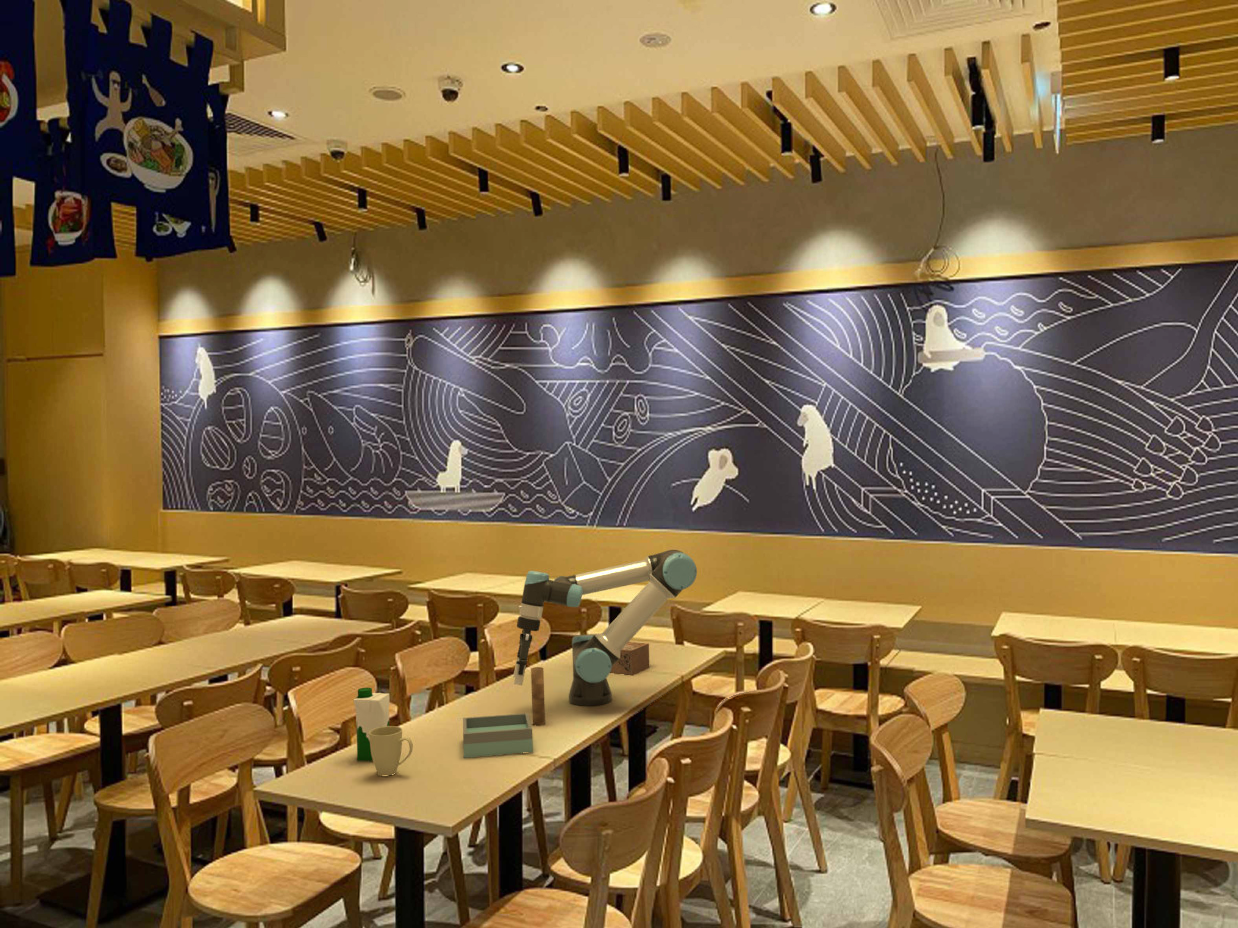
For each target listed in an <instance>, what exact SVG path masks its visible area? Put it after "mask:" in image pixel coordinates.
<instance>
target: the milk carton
mask: <svg viewBox="0 0 1238 928" xmlns="http://www.w3.org/2000/svg"><path fill="white" fill-rule="evenodd" d="M353 703H354V708H355V710H354V711H355V724H356V725H355V726H356V727H355V728H356V758H357V759H356V761H359V762H373V759H372V755H371V748H370V738H369V732H370V731H371V730H373V729H375V728H379V727H385V726H390V693H382V692H373V688H372V687H362V688H358V689H357V696H356V697H355V698H354V699H353ZM371 760H372V761H371Z"/></svg>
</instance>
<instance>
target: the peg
mask: <svg viewBox="0 0 1238 928" xmlns="http://www.w3.org/2000/svg"><path fill="white" fill-rule="evenodd" d="M544 675H545V674H544V667H542V666H541V667H539V666H536V667H531V668H530V677H531V678H530V681H531V682H530V683H531V684H530V685H531V708H532V709H531V710H532V711H531V714H532V726H534V725H536V726H535V727H539V726H540V727H541V725H542V726H545V725H546V713H545V712H546V709H545V708H546V707H545V683H544V682H545V681H544V680H545V677H544Z"/></svg>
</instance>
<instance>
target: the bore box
mask: <svg viewBox="0 0 1238 928" xmlns="http://www.w3.org/2000/svg"><path fill="white" fill-rule="evenodd" d="M462 735H463V736H462V741H463V742H462V743H463V759H469V758H468V757H471V758H479V757H478V756H484V757H491V756H490V755H496V756H501V755H500V754H509V755H513V754H512V753H521V754H524V753H523V752H533V753H534V747H533V745H534V743H533V741H534V740H533V725H532V723H531V718H530V715H529V712H524V713H511V714H510V713H509V714H501V715H500V714H495V715H487V716H486V715H483V716H473V717H472V716H471V717H469V716H468V717H463V718H462Z"/></svg>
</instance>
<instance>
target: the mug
mask: <svg viewBox="0 0 1238 928" xmlns="http://www.w3.org/2000/svg"><path fill="white" fill-rule="evenodd" d="M369 738H370V748H371V755H372V759H373V761H372V762H373V765H374V767H375V770H376V773H377V775H378V776H379V775H392V774H394V773H396V774H397V771H398V768H399V766H400V765H402V764H403V763H405V761H407V759H408V758H409V757H410V756H411V755H412V753H413V748H414V746H413V741H412V739H411V737H410V738H409V737H403V728H402V727H400V726H392V725H389V726H385V727H379V728H375V729H373V730H371V731H370V732H369ZM404 741H407V743H408V745H409V751H408V754H407V755H406V756H405V757H404V758H403V759H402V760H401V756H402V751H403V750H402V747H403V746H402V745H403V742H404ZM400 760H401V761H400ZM392 776H393V775H392Z"/></svg>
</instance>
